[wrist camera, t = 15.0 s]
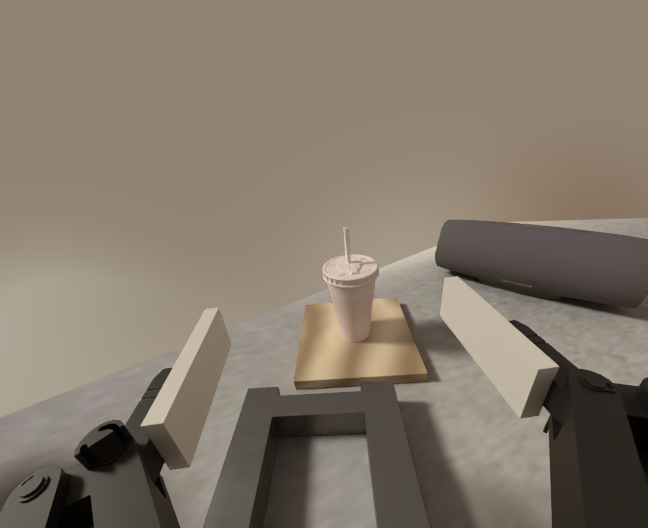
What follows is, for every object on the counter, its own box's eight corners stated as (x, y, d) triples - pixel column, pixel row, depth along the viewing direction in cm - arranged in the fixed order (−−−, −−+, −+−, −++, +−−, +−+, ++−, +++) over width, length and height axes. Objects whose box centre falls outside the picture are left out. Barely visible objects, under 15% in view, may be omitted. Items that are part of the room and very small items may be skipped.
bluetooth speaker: (622, 294, 36) (654, 225, 32) (629, 331, 30) (670, 253, 26) (450, 260, 50) (456, 210, 46) (431, 281, 44) (436, 226, 40)
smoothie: (370, 313, 37) (366, 216, 30) (388, 344, 31) (388, 233, 25) (326, 322, 36) (313, 225, 30) (336, 355, 30) (322, 244, 24)
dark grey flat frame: (188, 649, 14) (167, 635, 13) (255, 408, 27) (248, 388, 25) (451, 654, 13) (458, 639, 12) (392, 400, 26) (392, 380, 24)
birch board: (295, 389, 28) (294, 381, 28) (306, 311, 41) (305, 305, 40) (426, 381, 27) (427, 373, 27) (396, 304, 40) (396, 297, 39)
